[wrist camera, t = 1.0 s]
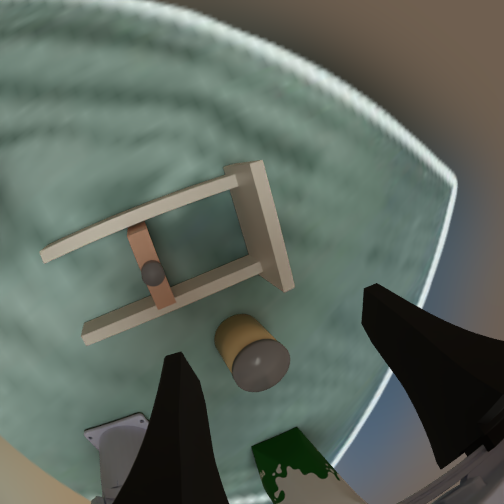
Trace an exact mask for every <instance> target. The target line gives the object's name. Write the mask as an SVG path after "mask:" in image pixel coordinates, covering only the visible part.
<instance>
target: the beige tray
mask: <svg viewBox="0 0 504 504" xmlns="http://www.w3.org/2000/svg"><path fill="white" fill-rule="evenodd" d="M223 169H224V172H225V175H223V176H220V177H217V178H214V179H211V180H208V181H205V182H202V183H199V184H196V185H193V186H190V187H187V188H184V189H181V190H179V191H176V192H173V193H170V194H168V195H165V196H162V197H160V198H157V199H154V200H152V201H149V202H146V203H144V204H141V205H139V206H136V207H133V208H131V209H128V210H126V211H123V212H121V213H119V214H116V215H114V216H111V217H109V218H106V219H104V220H102V221H99V222H97V223H95V224H92V225H90V226H88V227H86V228H83V229H81V230H79V231H77V232H74V233H72V234H70V235H68V236H66V237H63V238H61V239H59V240H57V241H55V242H53V243H51V244H48V245H47V246H46V247H44V248H43V249H42V250H41V251H40V252H39V253H40V255H41V258H42V260H43V262H44V264H45V263H47V262H49V261H51V260H54V259H56V258H58V257H60V256H62V255H64V254H66V253H69V252H71V251H73V250H75V249H78V248H80V247H82V246H84V245H87V244H89V243H91V242H93V241H96V240H98V239H100V238H103V237H105V236H107V235H110V234H112V233H115V232H117V231H119V230H122V229H124V228H127V227H129V226H132V225H134V224H137V223H139V222H142V221H144V220H147V219H149V218H152V217H154V216H157V215H160V214H162V213H165V212H167V211H170V210H173V209H175V208H178V207H181V206H184V205H186V204H189V203H192V202H194V201H197V200H200V199H203V198H206V197H209V196H211V195H214V194H217V193H220V192H223V191H226V190H229V189H230V193H231V196H232V200H233V203H234V206H235V210H236V213H237V217H238V220H239V223H240V227H241V230H242V233H243V237H244V240H245V244H246V247H247V250H248V254H249V255H247V256H244V257H242V258H239V259H237V260H235V261H232V262H230V263H227V264H225V265H223V266H220V267H218V268H215V269H213V270H211V271H208V272H206V273H203V274H201V275H199V276H196V277H194V278H191V279H189V280H187V281H184V282H182V283H179V284H177V285H175V286H172V287H170V288H171V291H172V293H173V295H174V298H175V300H176V303H174V304H172V305H169V306H167V307H165V308H162V309H160V310H158V309H157V306H156V304H155V302H154V300H153V298H152V295H151V296H148V297H146V298H143V299H141V300H138V301H136V302H134V303H131V304H129V305H126V306H124V307H122V308H119V309H117V310H114V311H112V312H110V313H107V314H105V315H102V316H100V317H98V318H95V319H93V320H90V321H88V322H85V323H84V325H83V329H82V334H81V337H82V339H83V341H84V342H85V344H86V346H88V345H90V344H93V343H95V342H98V341H100V340H103V339H105V338H108V337H110V336H113V335H115V334H118V333H120V332H123V331H125V330H128V329H130V328H132V327H135V326H137V325H140V324H142V323H145V322H147V321H149V320H152V319H154V318H157V317H159V316H161V315H164V314H166V313H169V312H171V311H173V310H176V309H178V308H180V307H183V306H185V305H188V304H190V303H192V302H195V301H197V300H199V299H202V298H204V297H206V296H209V295H211V294H213V293H216V292H218V291H220V290H223V289H225V288H227V287H230V286H232V285H234V284H236V283H239V282H241V281H243V280H246V279H248V278H250V277H252V276H255V275H257V274H259V275H260V276H261V277H263V278H264V279H266V280H267V281H269V282H270V283H271V284H273V285H274V286H276V287H277V288H278V289H280V290H281V291H283V292H286V291H288V290H290V289H293V288H295V285H294V281H293V277H292V272H291V268H290V264H289V260H288V256H287V252H286V248H285V244H284V240H283V236H282V232H281V228H280V224H279V220H278V216H277V212H276V208H275V205H274V201H273V197H272V193H271V189H270V186H269V182H268V178H267V174H266V171H265V167H264V163H263V160H258V161H250V162H243V163H236V164H231V165H228V166H225V167H223Z"/></svg>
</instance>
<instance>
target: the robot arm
mask: <svg viewBox="0 0 504 504" xmlns="http://www.w3.org/2000/svg"><path fill="white" fill-rule="evenodd" d="M361 324H362V325H363V327H364V329H365V331H366V333H367V335H368V337H369V338H370V340H371V342H372V344H373V345H374V346H375V348H376V349H377V351H378V352H379V353H380V355H381V356H382V358H383V359H384V360H385V362H386V363H387V364H388V366H389V367H390V369H391V370H392V371H393V373H394V374H395V375H396V377H397V378H398V380H399V381H400V382H401V384H402V386H403V387H404V389H405V390H406V392H407V394H408V396H409V398H410V400H411V402H412V404H413V405H414V407H415V409H416V412H417V413H418V416H419V418H420V420H421V422H422V424H423V427H424V429H425V431H426V434H427V436H428V439H429V441H430V444H431V447H432V450H433V453H434V456H435V459H436V462H437V464H438V466H439V467H440V469H443V468H444V467H445V466H447V465H448V464H450V463H451V462H452V461H454V460H455V459H457V458H458V457H459V456H461V455H462V454H463V453H464V452H465V454H466V455H467V457H466V458H465V459H464V460H463V461H461V462H460V463H459V464H457V465H456V466H455V467H453V468H452V469H451V470H450V471H448V472H447V473H445V474H444V475H442V476H441V477H439V478H438V479H436V480H435V481H433V482H432V483H430V484H429V485H427V486H426V487H424V488H423V489H421V490H419V491H418V492H416V493H414V494H413V495H411V496H409V497H408V498H406V499H404V500H403V501H401V502H399V503H397V504H426V503H428V502H429V501H431V500H432V499H434V498H436V497H437V496H439V495H440V494H441V493H443V492H444V491H446V490H447V489H449V488H450V487H451V486H453V485H454V484H455V483H457V482H458V481H459V480H461V481H460V485H458V486H456V487H455V488H453V489H451V490H450V491H448V492H446V493H445V494H444V495H442V496H441V497H439V498H438V499H437V500H435V501H434V502H433V503H431V504H504V341H501V340H497V339H493V338H489V337H486V336H483V335H480V334H476V333H474V332H470V331H468V330H465V329H463V328H460V327H458V326H455V325H453V324H451V323H449V322H446V321H444V320H442V319H440V318H438V317H436V316H434V315H432V314H430V313H428V312H426V311H425V310H423V309H421V308H419V307H417V306H416V305H414V304H412V303H410V302H409V301H407V300H405V299H403V298H402V297H400V296H398V295H397V294H395V293H393V292H391V291H390V290H388V289H386V288H385V287H383V286H381V285H379V284H377V283H376V284H373V285H371V286H369V287H366V288H364V295H363V310H362V322H361ZM141 420H143V421H141ZM84 436H85V437H86V438H87V439H88V440H89V441H90V442H91V443H92V444H93V445H94V446H95V447H96V448H97V449H98V450H99V458H100V473H101V485H102V495H103V496H102V497H100V496H96V497H95V498H94V499H93V500H92V501H91V504H229V502H228V500H227V497H226V494H225V491H224V488H223V485H222V482H221V479H220V476H219V472H218V469H217V466H216V462H215V458H214V453H213V447H212V441H211V435H210V429H209V422H208V416H207V409H206V403H205V399H204V395H203V392H202V388H201V384H200V380H199V379H198V377H197V376H196V374H195V373H194V371H193V370H192V368H191V366H190V365H189V363H188V362H187V360H186V358H185V357H184V355H183V353H182V352H178V353H174V354H171V355H167V356H166V357H165V358H164V364H163V369H162V373H161V378H160V382H159V387H158V391H157V395H156V399H155V403H154V407H153V410H152V414H151V417H150V420H149V422H148V420H147V419H146V418H145V417H144V415H143V414H140V413H138V414H135V415H132V416H129V417H126V418H124V419H121V420H118V421H115V422H112V423H109V424H105V425H102V426H99V427H96V428H93V429H89V430H86V431H84Z"/></svg>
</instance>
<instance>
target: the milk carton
mask: <svg viewBox="0 0 504 504" xmlns="http://www.w3.org/2000/svg"><path fill="white" fill-rule="evenodd" d="M252 450H253V454H254V457H255V461H256V464H257V468H258V471H259V474H260V477H261V481H262V484H263V487H264V489H265V491H266V492H267V494H268V496H269V497H270V499H271V500H272V502H273V504H368V503H367V502H365V501H364V500H363V499H362V498H361V497H360V496H358V495H357V494H356V493H355V491H354V490H353V489H352V488H351V487H350V486H349V485H348V484H347V483H346V482H345V481H344V479H342V477H341V476H340V475H339V474H338V473H337V472H336V471H335V469H334V468H333V467H332V466H331V465H330V464H329V463H328V461H327V460H326V459H325V458H324V457H323V456H322V455H321V453H320V452H319V451H318V450H317V449H316V448H315V447H314V445H313V444H312V443H311V442H310V441H309V440H308V439H307V438H306V437H305V435H304V434H303V433H302V432H301V431H300V430H299V428H298V427H296V428H293V429H291V430H289V431H287V432H285V433H282V434H280V435H278V436H276V437H273V438H271V439H269V440H266V441H264V442H261V443H259V444H257V445H254V446H252Z"/></svg>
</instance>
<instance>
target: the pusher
mask: <svg viewBox="0 0 504 504" xmlns="http://www.w3.org/2000/svg"><path fill="white" fill-rule="evenodd" d="M127 237H128V240H129V243H130V245H131V248H132V250H133V253H134V255H135V258H136V260H137V263H138V265H139V268H140V270H141V274H142V279H143V281H144V283H145V284H147V286H148V289H149V291H150V293H151V295H152V298H153V300H154V302H155V304H156V306H157V309H158V310H160V309H162V308H165V307H167V306H169V305H172V304H174V303H176V300H175V298H174V295H173V293H172V291H171V288H170V286H169V283H168V281H167V279H166V276H165V272H164V269H163V267H162V265H161V264H160V261H159V259H158V256H157V253H156V251H155V248H154V246H153V243H152V240H151V238H150V235H149V232H148V229H147V227H146V224H145V221H144V222H141V223H139V224H136V225H134V226H131V227H129V228H128V231H127Z"/></svg>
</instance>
